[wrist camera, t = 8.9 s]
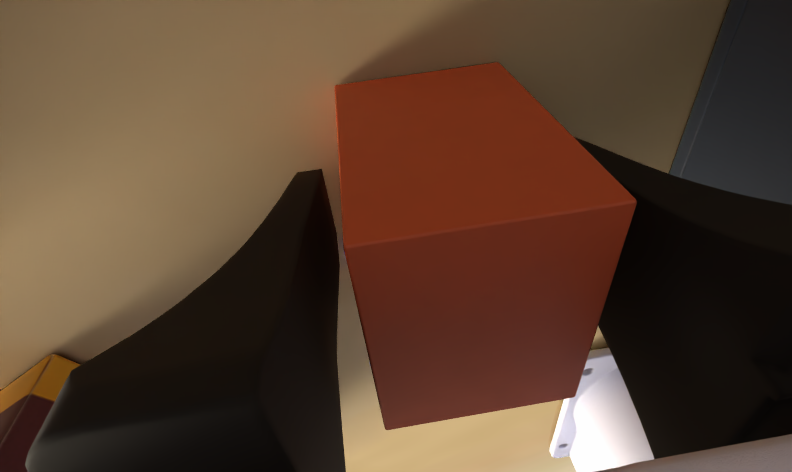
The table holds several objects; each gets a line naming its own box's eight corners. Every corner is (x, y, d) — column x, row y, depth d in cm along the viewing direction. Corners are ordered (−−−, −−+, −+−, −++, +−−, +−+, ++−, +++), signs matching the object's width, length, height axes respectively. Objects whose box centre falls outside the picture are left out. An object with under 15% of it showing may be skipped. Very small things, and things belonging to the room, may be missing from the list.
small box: (489, 223, 14) (575, 398, 9) (363, 244, 13) (385, 431, 9) (498, 61, 10) (639, 200, 6) (334, 84, 10) (342, 246, 6)
